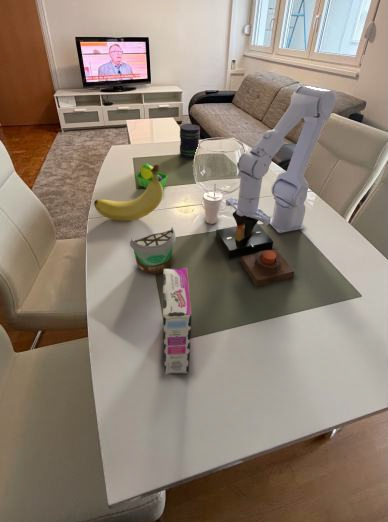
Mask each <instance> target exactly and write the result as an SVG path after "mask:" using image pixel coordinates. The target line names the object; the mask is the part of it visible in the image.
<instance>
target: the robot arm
mask: <svg viewBox="0 0 388 522" xmlns="http://www.w3.org/2000/svg"><path fill="white" fill-rule="evenodd" d="M336 103H337V101H336V97H335V93H334V91H333V90H332V89H331V90H329V89H323V88H316V87H311V86H306V85H304V84H303V85H299V86H298V87H297V88H296V89H295V90H294V92H293V93H292V94H291V96H290V105H289V106H288V108H287V109H286V111H285V112H284V113H283V115H282V116H281V118H280V119H279V120H278V122H277V123H276V125H275V126H274V128H273V129H270V130H269V129H268V130H266V131H265V132H264V134H263V135H262V136H261V137H260V138H259V140H258V141H257V142H256V143H255V145H254V146H253V147H252V148H251V149H250V150H249V151H247V152H244V153H242V154H241V155H240V157H239V159H238V161H237V162H236V167H237V169H238V171H239V173H238V175H239V177H240V179H239V182H240V183H239V190H238V198H237V199H236V198H233V197H227V198H226V199H225V206H227V207H232V208H233V209H234V210H235V211H234V212H232V217H233V218H234V221H235V224H237V227H238V226H240V225H241V224H243V223H244V225H245V231H244V237H246V238H247V237H248V236H250V234H251V232H252V230H253V228H254V226H255V225H256V223H259V222H260V223H262V224H263V226H265V227H267V226H268V225H270V226H271V227H272V228H273V229H274V230H275V231H276V232H277V233H278V234H282V233H288V232H293V231H297V230H302V229H304V226H303V223H304V218H305V214H306V205H305V202H306V200H307V198H308V190H309V187H310V184H309V183H308V181H307V179H306V178H305V174H306V171H307V169H308V166H309V164H310V161H311V159H312V156H313V153H314V151H315V149H316V146H317V143H318V140H319V138H320V136H321V133H322V130H323V128H324V125H325V123H328V122H329V120H330V117H331V115H332V113H333V111H334V109H335V106H336ZM302 119H303V121H304V124H303V126H302V129H301V132H300V135H299V136H298V140H297V142H296V145H295V148H294V151H293V153H292V156H291V158H290V161H289V164H288V167H287V169H286V171H284V172H280V173H278V175H277V177H276V179H275V181H274V182H273V184H272V185H271V189H270V190H271V191H270V193H271V194H272V196H273V200H274V206H273V212H272V217H271V216H270V215H268V214H267V213H265V212H264V211H263V210H262V209H261V208H260V207H259V203H260V197H261V190H262V182H263V177H265V176H266V175H267V173H268V172H269V169H270V166H271V164H272V159H273V158H274V157H275V156H276V154H277V153H278V152H279V151H280V150H281V148H282V147H283V146H284V144H285V139H284V138H285V137H286V136H287V135H288V134H289V133H290V132H291V131H292V129H294V127H296V126H297V124H298V123H299V122H300V121H301V120H302Z"/></svg>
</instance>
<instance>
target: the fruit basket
mask: <svg viewBox="0 0 388 522" xmlns="http://www.w3.org/2000/svg"><path fill="white" fill-rule="evenodd" d="M153 167H154V166H152V165H150V164H149V163H144V164H143V165H141V167H140V171H139V172H138V173H136V174H135V178H136V180H137V182H138V184H139V187H142V188H145V189H147V187H148V186H149V184H150V183H151V181H152V177H153V174H152V172H151V171H150V170H151V169H153ZM168 177H169V176H168V175H167V174H165V173H161V172H158V173H157V179H158V181H159V183H160V184H161V186H162V188H165V186H166V182H167V180H168Z"/></svg>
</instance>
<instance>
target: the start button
mask: <svg viewBox="0 0 388 522" xmlns="http://www.w3.org/2000/svg"><path fill="white" fill-rule="evenodd" d="M261 259H262V261H263V262H264V263H266V264H273V263H275V259H276V254H275V253H274V252H273V251H271V250H265V251H263V253H262V257H261Z"/></svg>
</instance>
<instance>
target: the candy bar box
mask: <svg viewBox="0 0 388 522" xmlns="http://www.w3.org/2000/svg"><path fill="white" fill-rule="evenodd" d="M162 274H163V275H162V278H163V279H162V320H163V321H162V323H163V324H162V325H163V363H164V364H163V367H164V370H163V372H164V373H163V374H164V375H181V374H182V375H183V374H189V373H190V354H191V334H192V332H191V331H192V303H191V293H190V282H189V271H188V267H176V268H168V269H164V272H162Z"/></svg>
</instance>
